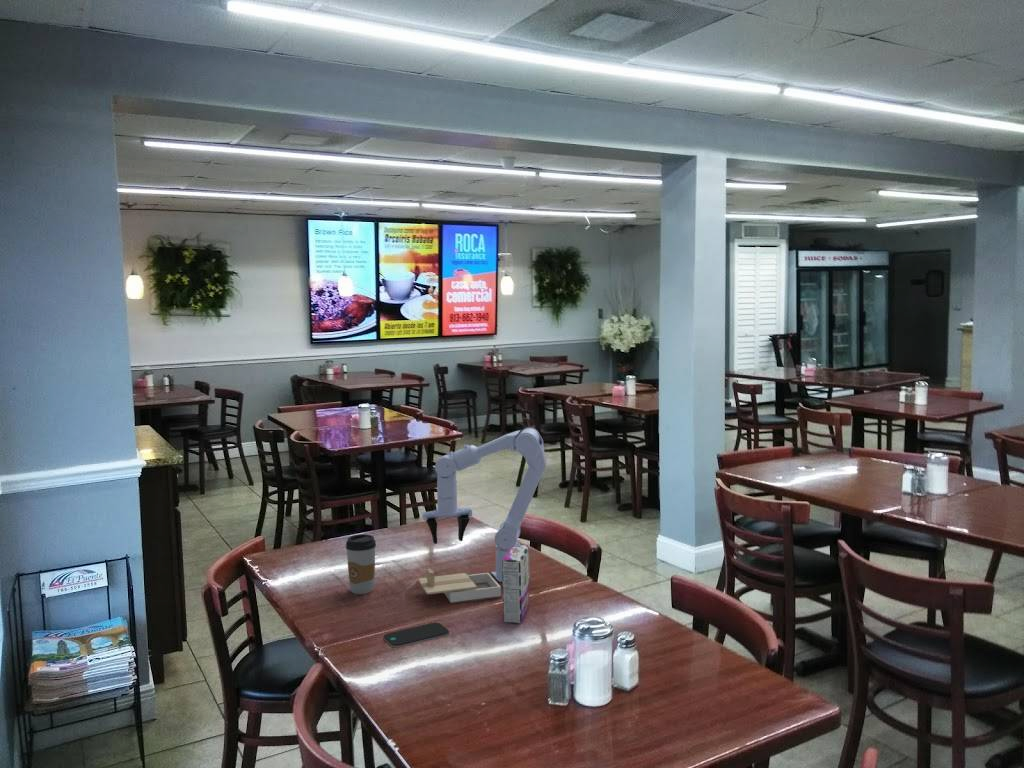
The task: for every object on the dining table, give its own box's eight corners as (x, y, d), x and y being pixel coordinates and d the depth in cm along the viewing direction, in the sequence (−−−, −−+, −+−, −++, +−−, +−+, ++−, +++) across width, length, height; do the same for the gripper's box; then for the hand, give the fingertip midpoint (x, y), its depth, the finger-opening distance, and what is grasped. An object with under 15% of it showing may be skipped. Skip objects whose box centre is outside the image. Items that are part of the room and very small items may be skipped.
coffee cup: (340, 592, 219) (339, 540, 217) (359, 583, 226) (358, 532, 224) (364, 597, 215) (363, 544, 213) (383, 588, 222) (382, 536, 221)
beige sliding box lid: (465, 574, 223) (465, 559, 223) (476, 588, 212) (476, 572, 212) (418, 580, 219) (417, 565, 218) (427, 594, 208) (426, 578, 207)
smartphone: (381, 634, 189) (437, 621, 197) (381, 638, 190) (437, 624, 197) (393, 646, 183) (451, 631, 191) (393, 649, 183) (451, 635, 191)
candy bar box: (511, 606, 208) (510, 545, 206) (529, 607, 207) (529, 546, 205) (502, 623, 197) (501, 559, 195) (521, 624, 196) (521, 560, 194)
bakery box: (488, 582, 226) (488, 572, 225) (500, 597, 214) (500, 586, 214) (440, 588, 221) (440, 578, 221) (450, 603, 210) (450, 592, 210)
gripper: (467, 491, 237) (468, 535, 238) (419, 495, 232) (420, 540, 234) (473, 496, 230) (474, 541, 232) (425, 500, 226) (425, 547, 227)
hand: (447, 541), depth 232 cm, fingers open, 7 cm apart
